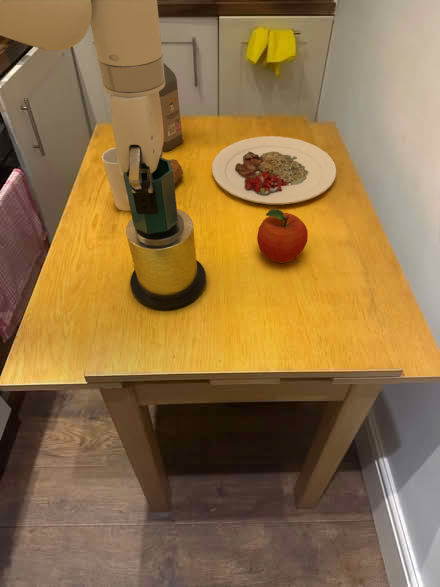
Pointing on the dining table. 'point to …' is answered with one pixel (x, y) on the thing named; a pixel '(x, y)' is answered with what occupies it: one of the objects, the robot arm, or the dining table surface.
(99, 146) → the dining table surface
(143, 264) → the towel holder
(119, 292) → the dining table surface
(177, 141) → the liquor
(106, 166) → the mug
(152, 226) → the teal cup
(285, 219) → the fruit
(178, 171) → the croissant
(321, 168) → the plated food
